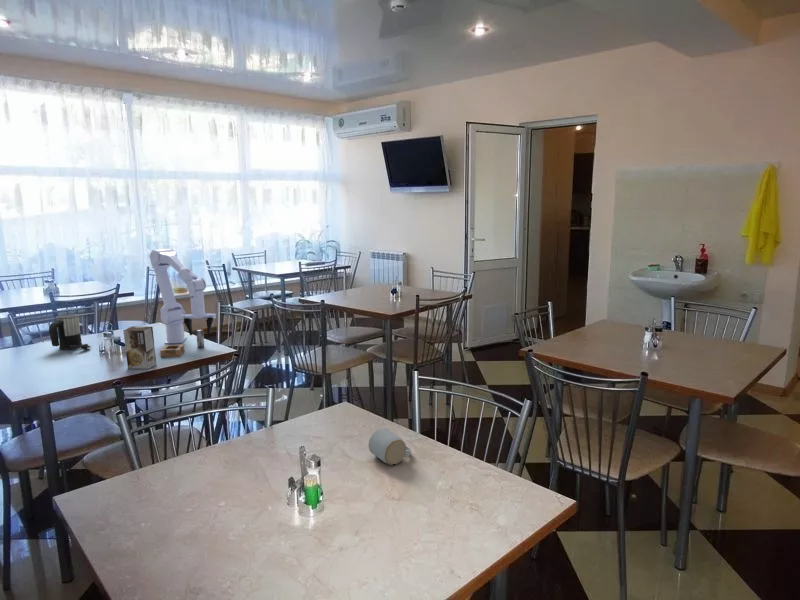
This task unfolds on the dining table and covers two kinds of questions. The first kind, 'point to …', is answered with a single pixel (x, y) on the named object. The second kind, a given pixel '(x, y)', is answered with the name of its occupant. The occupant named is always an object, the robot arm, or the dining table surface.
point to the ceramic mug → (388, 446)
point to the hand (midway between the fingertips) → (200, 334)
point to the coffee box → (139, 347)
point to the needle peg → (200, 338)
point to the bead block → (172, 350)
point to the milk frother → (67, 332)
